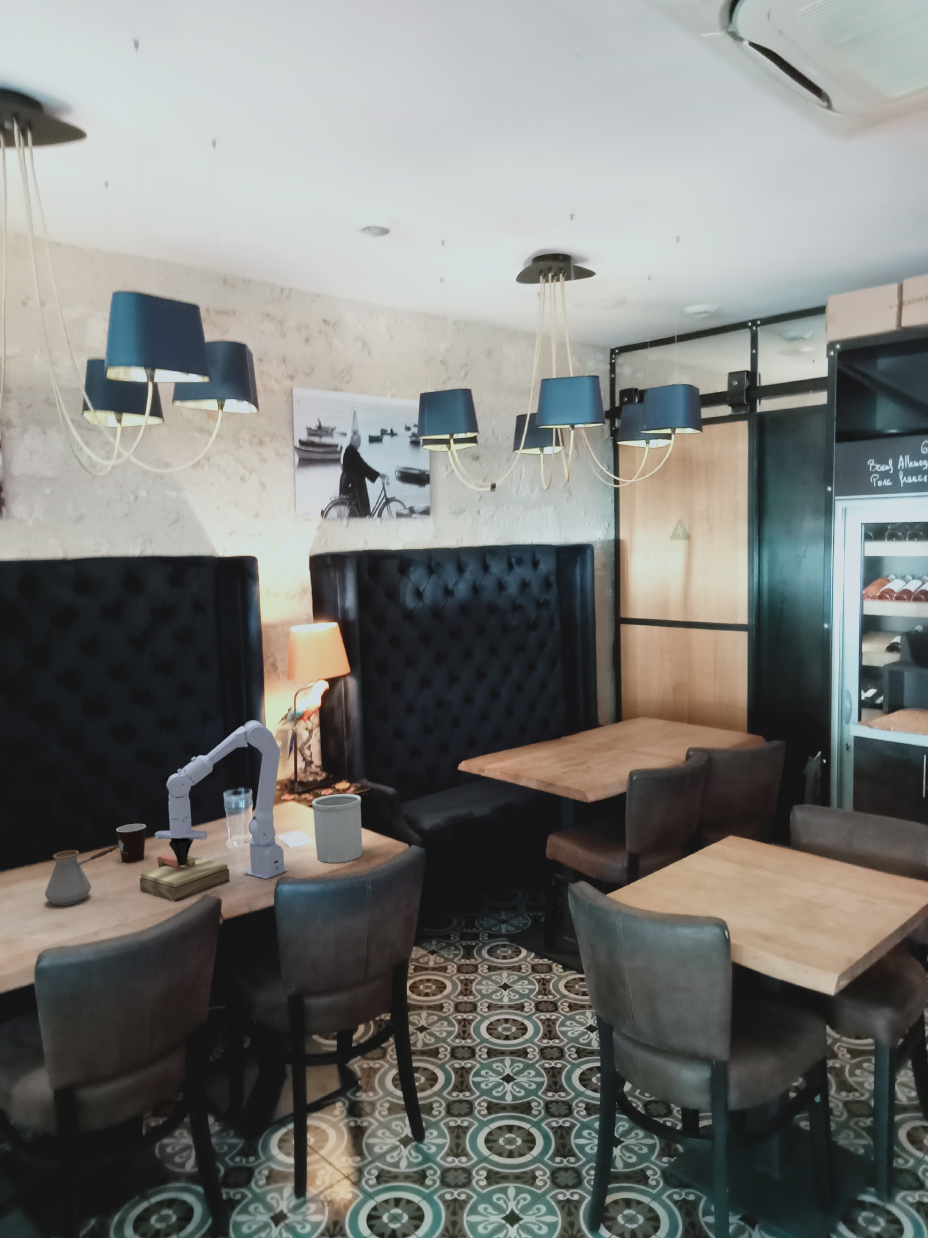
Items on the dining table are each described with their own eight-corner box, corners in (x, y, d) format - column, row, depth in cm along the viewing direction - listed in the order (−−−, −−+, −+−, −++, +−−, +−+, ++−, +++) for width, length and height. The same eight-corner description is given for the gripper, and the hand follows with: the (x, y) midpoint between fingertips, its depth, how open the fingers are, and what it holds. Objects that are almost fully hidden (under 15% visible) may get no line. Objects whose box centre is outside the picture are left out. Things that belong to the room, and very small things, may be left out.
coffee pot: (36, 908, 231) (33, 853, 230) (60, 892, 243) (57, 839, 242) (112, 908, 229) (109, 852, 228) (133, 892, 240) (130, 839, 240)
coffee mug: (148, 861, 267) (146, 829, 266) (118, 866, 264) (116, 833, 263) (147, 850, 278) (145, 820, 277) (118, 855, 275) (116, 823, 274)
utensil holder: (305, 856, 266) (302, 800, 265) (346, 845, 276) (343, 790, 275) (331, 867, 255) (329, 808, 254) (373, 855, 265) (370, 798, 264)
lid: (227, 868, 246) (226, 857, 246) (175, 887, 232) (174, 875, 232) (193, 859, 255) (192, 848, 255) (141, 877, 241) (140, 866, 241)
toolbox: (229, 881, 247) (228, 860, 246) (175, 901, 232) (174, 880, 232) (191, 870, 257) (190, 851, 257) (136, 889, 242) (135, 869, 242)
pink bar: (183, 865, 246) (183, 859, 246) (176, 867, 244) (176, 861, 244) (164, 860, 251) (164, 854, 251) (157, 862, 249) (156, 856, 249)
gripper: (210, 813, 246) (213, 860, 247) (162, 813, 248) (165, 859, 249) (199, 820, 239) (202, 868, 240) (150, 820, 241) (153, 868, 242)
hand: (182, 864), depth 244 cm, fingers closed
